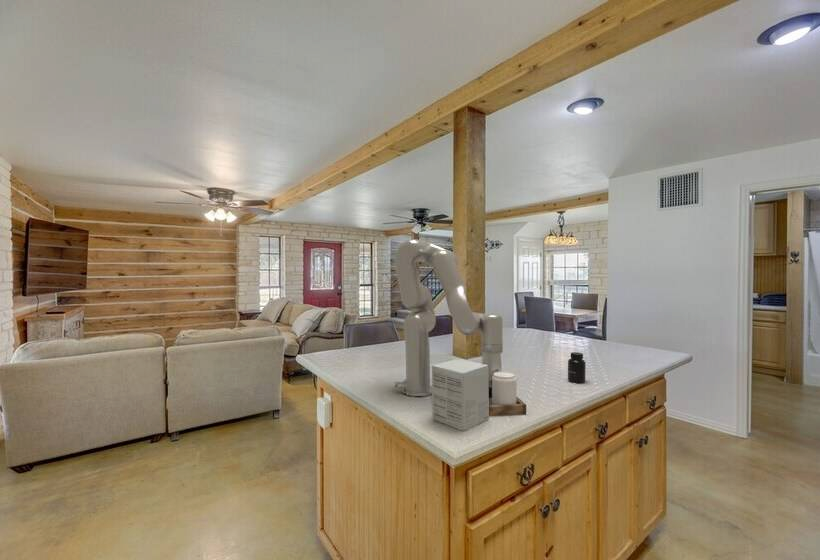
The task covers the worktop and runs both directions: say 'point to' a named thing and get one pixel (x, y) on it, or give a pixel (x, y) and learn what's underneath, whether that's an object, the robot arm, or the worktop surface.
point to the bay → (508, 409)
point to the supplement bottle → (576, 368)
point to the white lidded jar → (504, 388)
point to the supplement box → (460, 393)
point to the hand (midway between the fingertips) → (492, 397)
